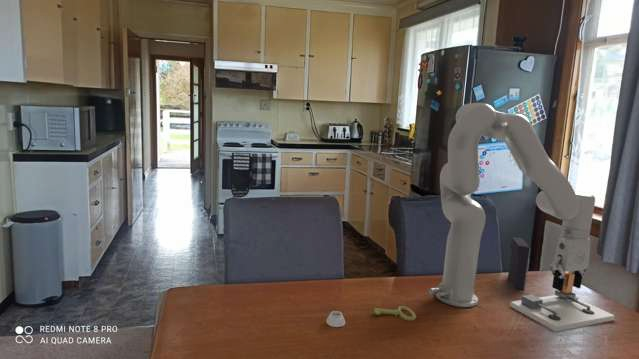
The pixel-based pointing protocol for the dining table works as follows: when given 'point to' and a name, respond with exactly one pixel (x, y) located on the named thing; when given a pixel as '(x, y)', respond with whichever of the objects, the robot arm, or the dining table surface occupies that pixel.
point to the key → (396, 312)
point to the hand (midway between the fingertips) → (566, 287)
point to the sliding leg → (569, 289)
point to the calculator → (519, 263)
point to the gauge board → (560, 312)
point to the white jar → (335, 319)
